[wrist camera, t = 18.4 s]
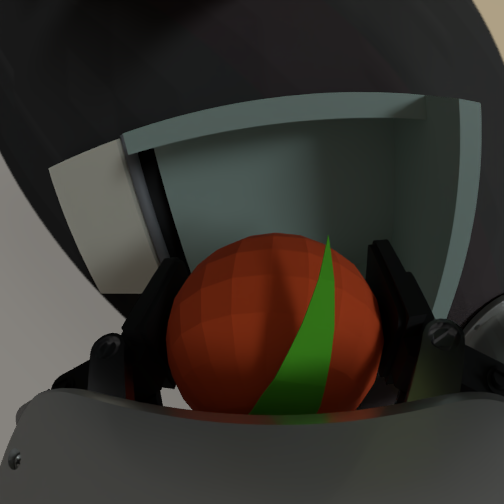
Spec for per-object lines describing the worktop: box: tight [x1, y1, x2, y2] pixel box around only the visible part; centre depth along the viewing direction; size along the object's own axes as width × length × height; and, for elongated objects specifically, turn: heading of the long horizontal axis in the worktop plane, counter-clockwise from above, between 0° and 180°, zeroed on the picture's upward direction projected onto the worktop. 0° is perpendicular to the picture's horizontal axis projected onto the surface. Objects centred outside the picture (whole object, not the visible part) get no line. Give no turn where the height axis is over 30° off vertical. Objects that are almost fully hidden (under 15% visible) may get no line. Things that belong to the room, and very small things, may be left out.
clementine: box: [166, 233, 384, 415], centre depth 8 cm, size 8×7×7 cm
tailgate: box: [49, 135, 170, 294], centre depth 20 cm, size 1×13×9 cm
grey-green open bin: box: [123, 92, 481, 319], centre depth 15 cm, size 17×13×9 cm
